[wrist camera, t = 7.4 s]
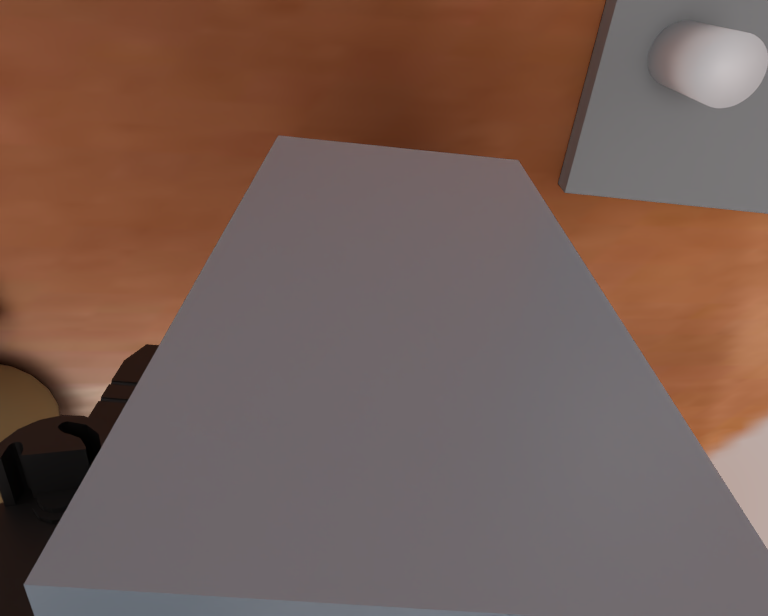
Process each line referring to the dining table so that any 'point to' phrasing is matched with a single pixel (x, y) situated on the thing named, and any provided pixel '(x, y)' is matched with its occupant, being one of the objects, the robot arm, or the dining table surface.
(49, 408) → the squeeze bottle
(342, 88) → the dining table surface
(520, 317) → the light blue rectangular block
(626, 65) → the board
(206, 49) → the dining table surface
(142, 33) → the dining table surface
